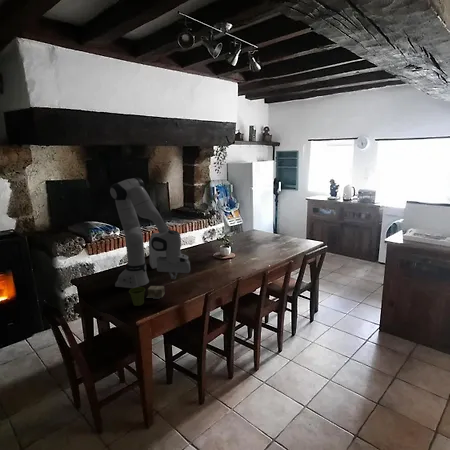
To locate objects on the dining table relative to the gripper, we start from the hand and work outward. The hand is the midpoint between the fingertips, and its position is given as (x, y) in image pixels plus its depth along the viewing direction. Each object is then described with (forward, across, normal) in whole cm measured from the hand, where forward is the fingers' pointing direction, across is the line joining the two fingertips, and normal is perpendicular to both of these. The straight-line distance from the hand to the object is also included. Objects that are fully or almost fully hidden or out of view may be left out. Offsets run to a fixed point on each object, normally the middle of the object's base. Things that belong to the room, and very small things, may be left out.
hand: (173, 278), depth 201 cm
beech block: (+9, -6, -1) cm, 11 cm away
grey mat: (+12, -12, 0) cm, 17 cm away
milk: (+12, -23, +54) cm, 60 cm away
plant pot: (+13, -19, -11) cm, 25 cm away
